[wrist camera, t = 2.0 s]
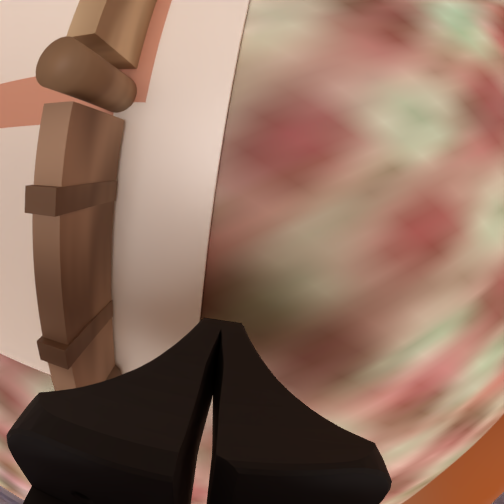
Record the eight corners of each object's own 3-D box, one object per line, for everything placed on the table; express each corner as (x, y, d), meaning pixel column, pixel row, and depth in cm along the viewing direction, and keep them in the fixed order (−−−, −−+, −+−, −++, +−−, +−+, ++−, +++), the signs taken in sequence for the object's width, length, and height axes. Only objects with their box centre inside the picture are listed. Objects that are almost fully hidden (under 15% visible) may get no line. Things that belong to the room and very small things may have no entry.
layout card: (-58, 317, 12) (-61, 319, 12) (-4, -44, 5) (-7, -46, 5) (193, 409, 13) (192, 413, 12) (276, -103, 6) (277, -106, 6)
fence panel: (93, 119, 9) (25, 102, 5) (132, 120, 9) (72, 96, 5) (93, 381, 12) (56, 438, 8) (123, 389, 12) (92, 452, 8)
